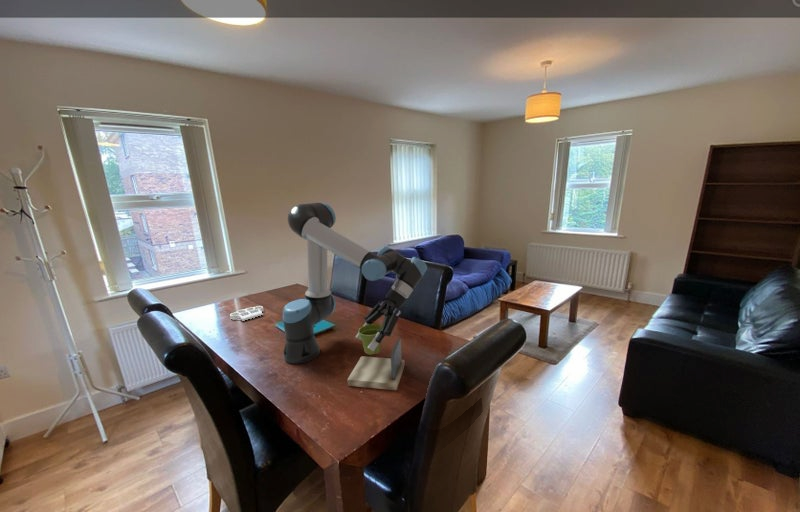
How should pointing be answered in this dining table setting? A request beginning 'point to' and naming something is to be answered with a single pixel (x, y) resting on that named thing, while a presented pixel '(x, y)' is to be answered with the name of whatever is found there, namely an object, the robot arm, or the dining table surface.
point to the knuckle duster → (247, 313)
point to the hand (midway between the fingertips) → (364, 343)
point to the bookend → (396, 359)
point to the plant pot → (369, 337)
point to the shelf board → (375, 373)
